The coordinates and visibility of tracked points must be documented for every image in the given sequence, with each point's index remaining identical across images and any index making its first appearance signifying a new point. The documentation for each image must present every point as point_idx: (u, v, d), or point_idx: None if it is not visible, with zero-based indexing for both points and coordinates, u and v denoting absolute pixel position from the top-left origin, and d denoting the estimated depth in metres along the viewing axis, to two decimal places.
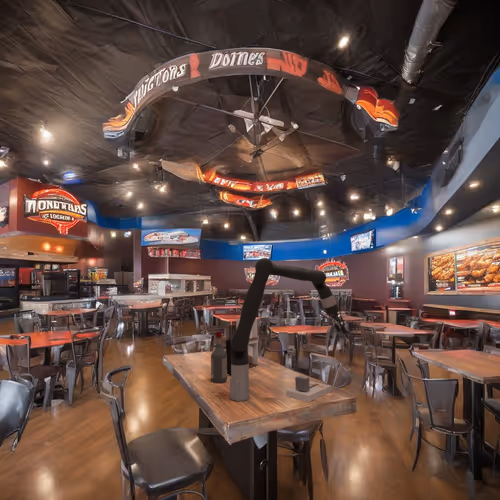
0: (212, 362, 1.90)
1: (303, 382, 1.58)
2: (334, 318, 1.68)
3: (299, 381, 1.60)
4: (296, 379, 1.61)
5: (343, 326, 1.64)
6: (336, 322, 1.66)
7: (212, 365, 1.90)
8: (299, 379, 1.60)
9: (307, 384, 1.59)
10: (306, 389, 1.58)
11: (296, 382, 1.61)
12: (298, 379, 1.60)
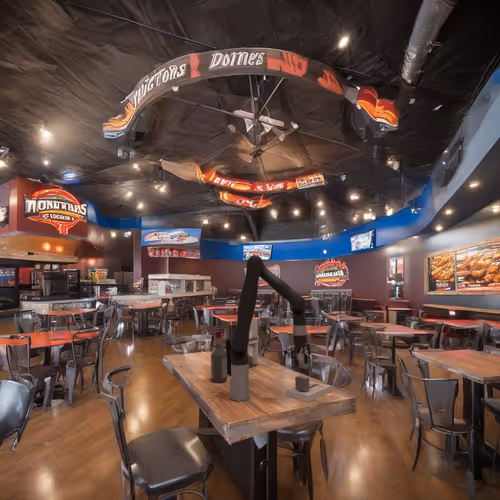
0: (212, 362, 1.90)
1: (303, 382, 1.58)
2: None
3: (299, 381, 1.60)
4: (296, 379, 1.61)
5: (295, 359, 1.59)
6: None
7: (212, 365, 1.90)
8: (299, 379, 1.60)
9: (307, 384, 1.59)
10: (306, 389, 1.58)
11: (296, 382, 1.61)
12: (298, 379, 1.60)
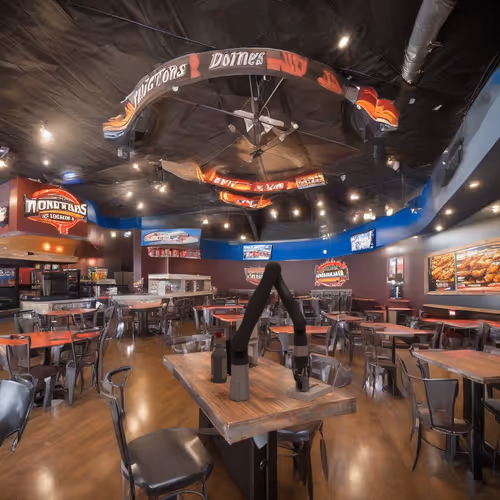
0: (212, 362, 1.90)
1: (303, 382, 1.58)
2: None
3: None
4: None
5: (298, 381, 1.58)
6: None
7: (212, 365, 1.90)
8: None
9: (307, 384, 1.59)
10: (306, 389, 1.58)
11: (296, 382, 1.61)
12: None
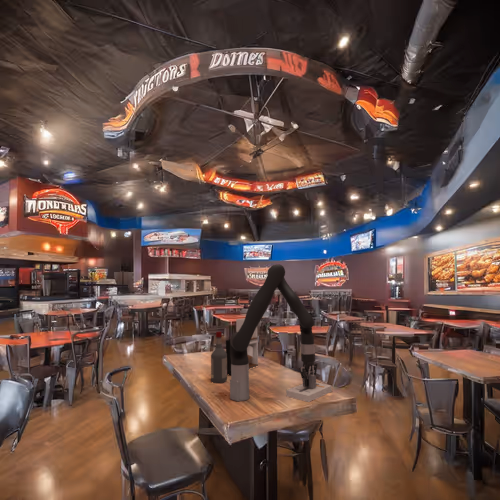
0: (212, 362, 1.90)
1: (310, 380, 1.62)
2: None
3: None
4: None
5: (305, 379, 1.63)
6: None
7: (212, 365, 1.90)
8: (306, 376, 1.64)
9: (314, 381, 1.63)
10: (313, 386, 1.62)
11: (303, 379, 1.66)
12: None
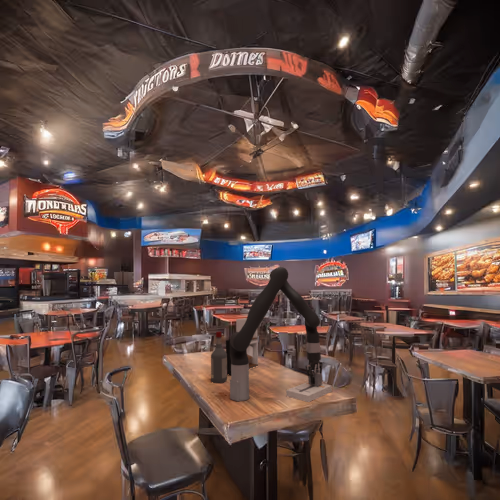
0: (212, 362, 1.90)
1: (316, 378, 1.66)
2: None
3: None
4: None
5: (311, 377, 1.67)
6: None
7: (212, 365, 1.90)
8: (312, 374, 1.68)
9: (320, 379, 1.67)
10: (319, 384, 1.66)
11: (309, 377, 1.70)
12: None
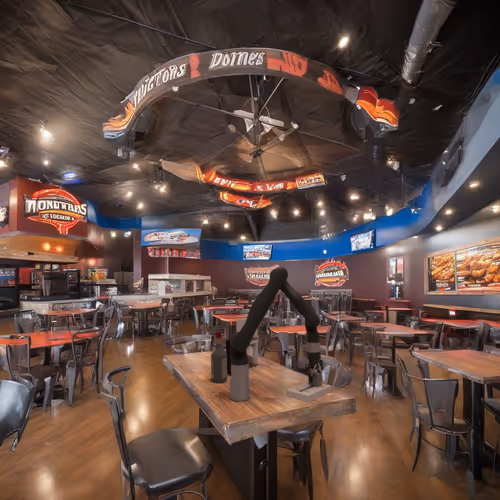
0: (212, 362, 1.90)
1: (316, 378, 1.66)
2: None
3: None
4: None
5: (309, 375, 1.65)
6: None
7: (212, 365, 1.90)
8: (312, 374, 1.68)
9: (320, 379, 1.67)
10: (319, 384, 1.66)
11: None
12: None
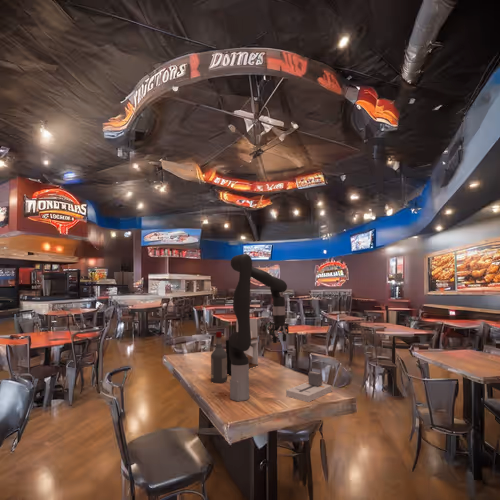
0: (212, 362, 1.90)
1: (316, 378, 1.66)
2: None
3: (312, 376, 1.68)
4: (309, 374, 1.70)
5: (273, 336, 1.79)
6: None
7: (212, 365, 1.90)
8: (312, 374, 1.68)
9: (320, 379, 1.67)
10: (319, 384, 1.66)
11: (309, 377, 1.70)
12: (311, 374, 1.69)
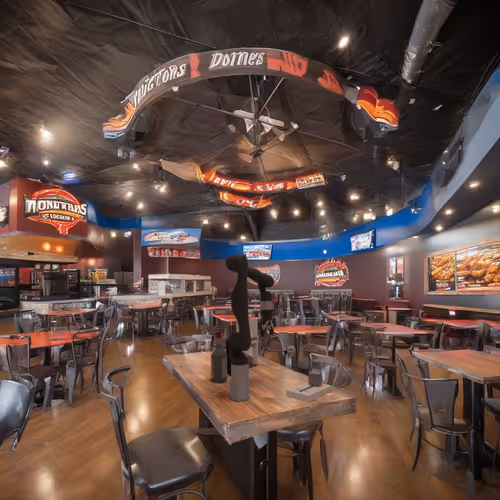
0: (212, 362, 1.90)
1: (316, 378, 1.66)
2: None
3: (312, 376, 1.68)
4: (309, 374, 1.70)
5: (261, 330, 1.83)
6: None
7: (212, 365, 1.90)
8: (312, 374, 1.68)
9: (320, 379, 1.67)
10: (319, 384, 1.66)
11: (309, 377, 1.70)
12: (311, 374, 1.69)
